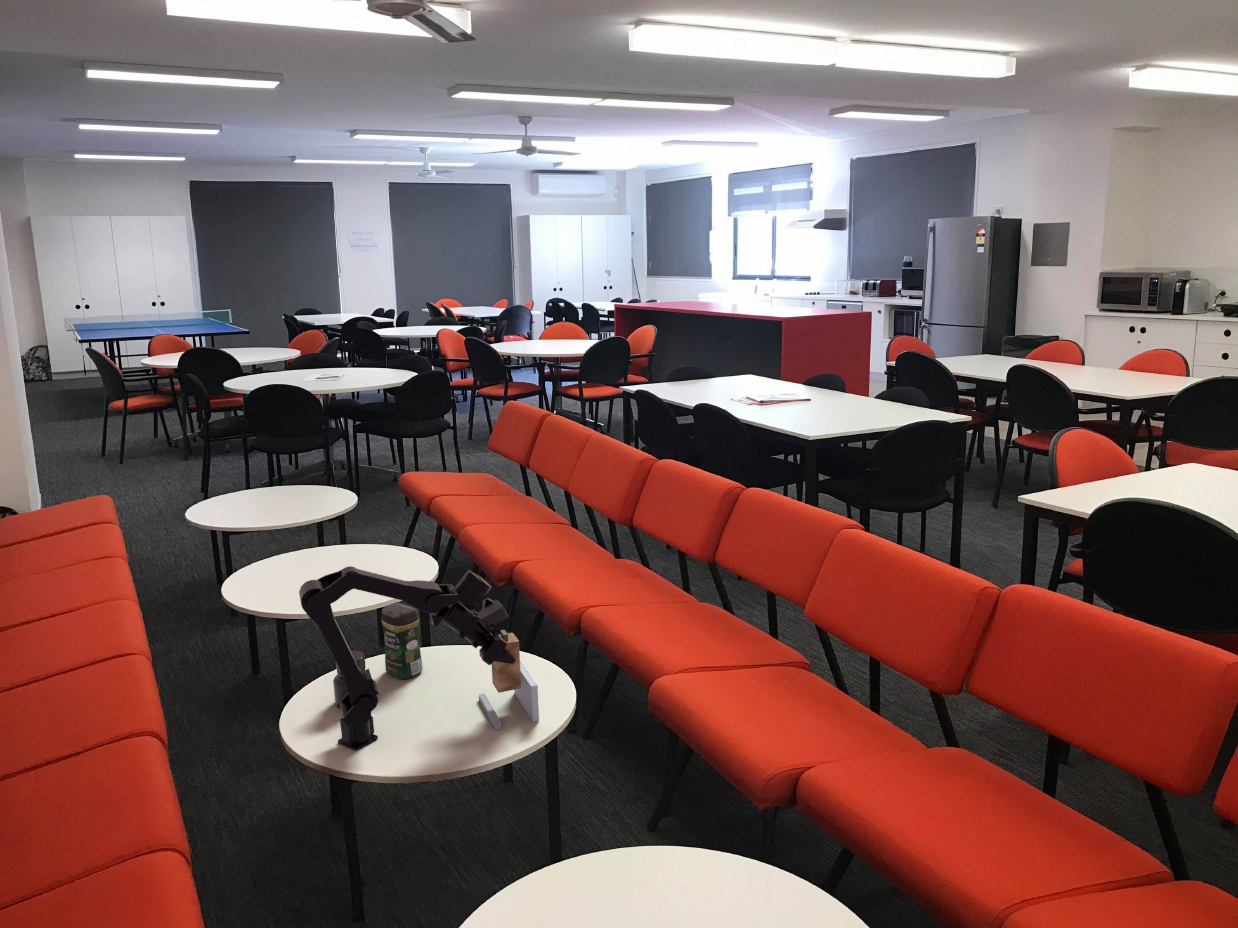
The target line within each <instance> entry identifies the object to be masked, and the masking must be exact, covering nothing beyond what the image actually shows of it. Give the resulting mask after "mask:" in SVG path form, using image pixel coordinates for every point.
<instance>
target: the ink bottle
mask: <svg viewBox="0 0 1238 928" xmlns="http://www.w3.org/2000/svg"><path fill="white" fill-rule="evenodd" d="M351 653H352V655H353V657H354V659H355V661H356V663H357V665H358V666H359V668H360V669H361V670H362V671H363V672H364V671H365V670H366V658H365V653H364V652H362V651H359V650H351ZM335 668H336V675H335V676H334V678H333V681H332V683H333V685H332V686H333V691H334V692H333V694H334V703H335V706H337V707H338V708H339V709H341V706H340V701H341V700H342V699H343V698H344V697H345V695H346V694H347V693H348V690H347V686H346V682H345V679H344V677H343V675H342V673H341V671H340V669H339V667H338V665H337V663H336V662H335Z"/></svg>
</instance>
